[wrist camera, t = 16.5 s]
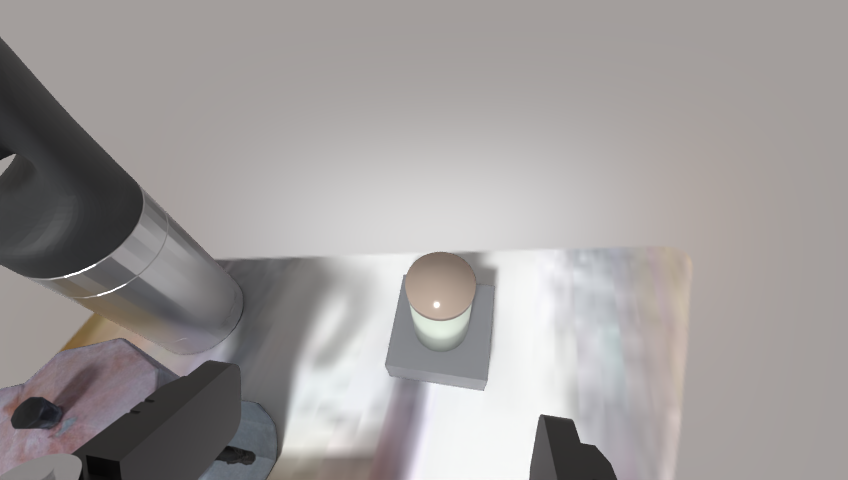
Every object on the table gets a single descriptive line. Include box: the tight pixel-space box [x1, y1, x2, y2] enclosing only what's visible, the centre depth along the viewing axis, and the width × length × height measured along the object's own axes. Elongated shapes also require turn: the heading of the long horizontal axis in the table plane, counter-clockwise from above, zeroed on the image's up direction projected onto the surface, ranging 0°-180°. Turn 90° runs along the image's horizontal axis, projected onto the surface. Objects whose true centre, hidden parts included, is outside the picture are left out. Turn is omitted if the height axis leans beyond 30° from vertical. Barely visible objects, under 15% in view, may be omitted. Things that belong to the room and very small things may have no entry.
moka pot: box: [0, 338, 277, 480], centre depth 28 cm, size 10×15×20 cm, turn 85°
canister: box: [405, 252, 476, 352], centre depth 34 cm, size 5×5×9 cm
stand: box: [385, 275, 495, 391], centre depth 39 cm, size 9×9×4 cm
